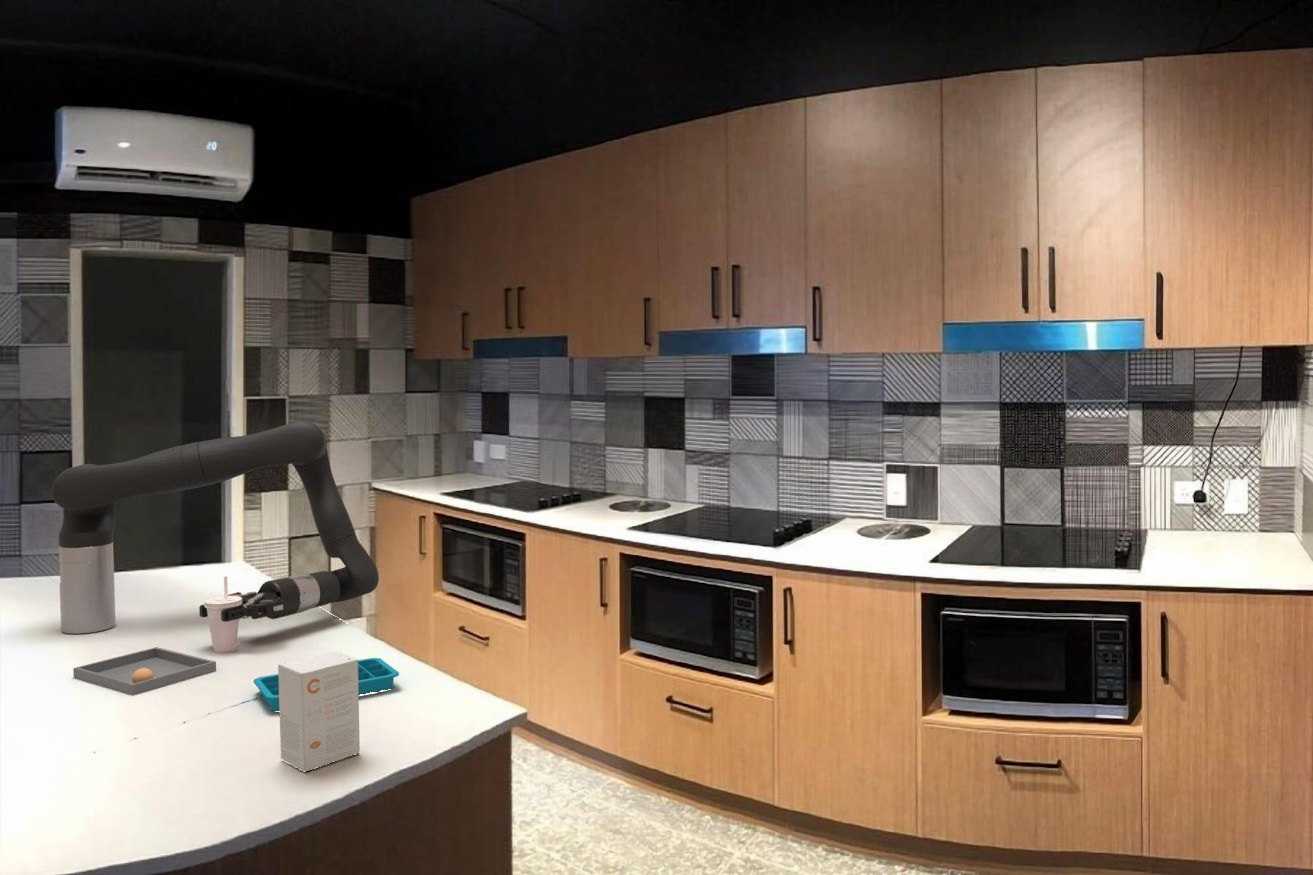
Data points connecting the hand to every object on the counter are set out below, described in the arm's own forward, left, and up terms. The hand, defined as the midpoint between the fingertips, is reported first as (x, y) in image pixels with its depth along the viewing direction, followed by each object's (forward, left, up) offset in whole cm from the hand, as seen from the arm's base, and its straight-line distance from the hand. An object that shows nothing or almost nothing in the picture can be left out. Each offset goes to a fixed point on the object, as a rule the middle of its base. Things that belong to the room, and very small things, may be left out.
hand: (211, 613), depth 164 cm
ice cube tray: (+35, -4, -8) cm, 36 cm away
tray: (+2, -14, -8) cm, 16 cm away
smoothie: (0, +2, -8) cm, 8 cm away
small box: (+55, -22, -8) cm, 60 cm away
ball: (+8, -18, -7) cm, 21 cm away
